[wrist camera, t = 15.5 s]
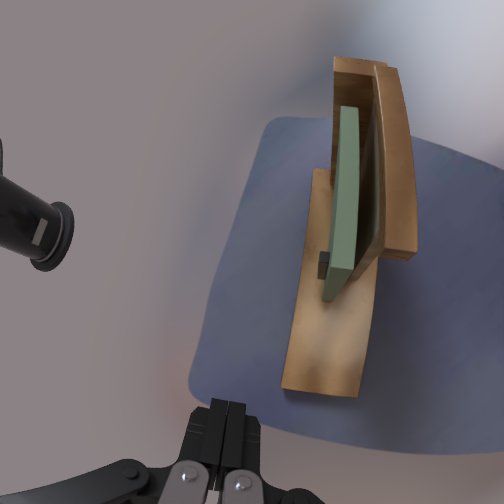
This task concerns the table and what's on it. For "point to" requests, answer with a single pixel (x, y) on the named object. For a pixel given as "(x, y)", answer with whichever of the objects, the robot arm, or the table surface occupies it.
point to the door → (342, 209)
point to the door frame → (368, 233)
